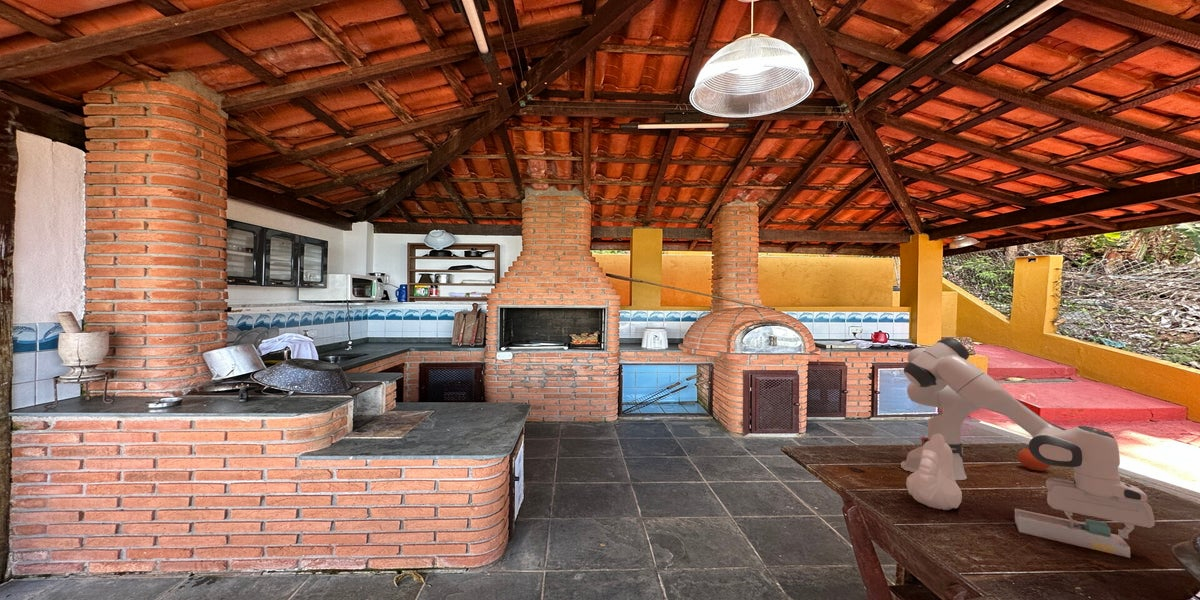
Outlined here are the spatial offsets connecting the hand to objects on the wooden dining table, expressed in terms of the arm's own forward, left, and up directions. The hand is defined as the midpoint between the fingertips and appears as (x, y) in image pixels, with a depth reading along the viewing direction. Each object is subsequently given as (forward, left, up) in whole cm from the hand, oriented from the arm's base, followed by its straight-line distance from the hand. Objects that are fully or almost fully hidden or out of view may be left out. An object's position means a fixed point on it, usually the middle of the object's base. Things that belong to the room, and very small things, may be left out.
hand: (1098, 532), depth 123 cm
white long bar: (-6, 0, -5) cm, 8 cm away
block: (0, 0, -3) cm, 3 cm away
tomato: (-3, +77, -5) cm, 77 cm away
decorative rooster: (-39, +4, -5) cm, 40 cm away
